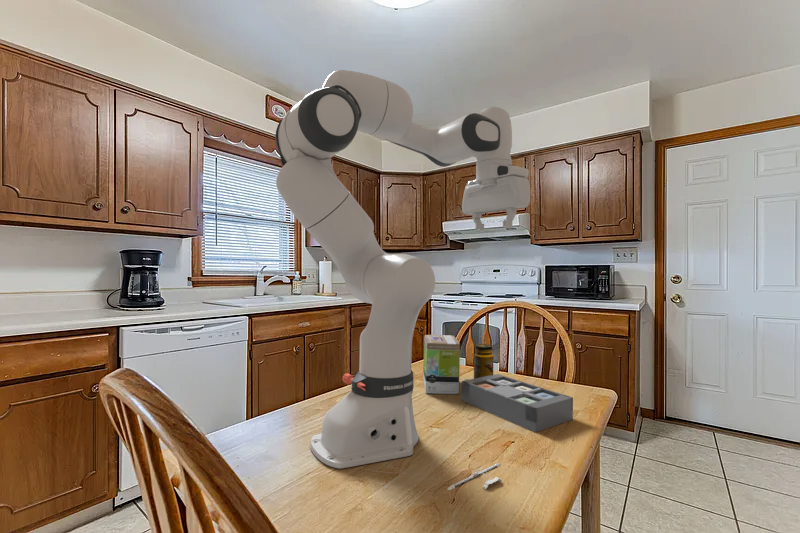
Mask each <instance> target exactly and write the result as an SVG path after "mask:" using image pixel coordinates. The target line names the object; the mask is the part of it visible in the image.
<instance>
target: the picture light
mask: <svg viewBox="0 0 800 533" xmlns="http://www.w3.org/2000/svg"><path fill="white" fill-rule="evenodd" d="M500 466H501V463H497V462H496V463H495V464H494V465H491V466H490V467H487V468H485V469H484V468H482V467H481V468H478V469H476V470H475V471H474V472H473V473H472V475H470V476H468V477H466V478H464V479H462V480H460V481H458V482H457V483H454V484H451V485H450V486H449V487H448V488H447V489H446V490H447V491H451V490H455V489H456V488H457V487H460V486H462V485H464V484H465V483H467V482H469V481H471V480H474V479H476V478H478V477H480V476H484V478H485V482H484V484H483V486H482V488H483V490H485V491H487V488H488V487H489V485H492V484H493V483H496V482H499V483H502V479H501V478H499V477H497V476H495V477H494V478H493V479H492V478H491V479H490V475H489V473H488V472H489V471H491V470H493V469H496V468H499V467H500ZM486 474H487V477H488V480H487V477H486Z"/></svg>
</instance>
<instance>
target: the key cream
mask: <svg viewBox="0 0 800 533" xmlns="http://www.w3.org/2000/svg"><path fill="white" fill-rule="evenodd" d="M515 388H516V389H519V390H522V391H528V390H532V389H530V388H527V387H524V386H519V387H515ZM531 394H534V392H532V393H531ZM519 397H522V398H523V397H525V398H527V397H530V396H527V395H520V396H519Z"/></svg>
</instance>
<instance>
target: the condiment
mask: <svg viewBox="0 0 800 533" xmlns="http://www.w3.org/2000/svg"><path fill="white" fill-rule="evenodd" d="M474 348H475V349H474V351H475V352H474V354H473V379H475V378H480V377H485V376H490V375H494V354H493V346H492V345H491V344H487V343H478V344H475V347H474ZM465 380H470V378H466V379H465V378H464V380H463V381H465Z"/></svg>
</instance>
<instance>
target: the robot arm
mask: <svg viewBox="0 0 800 533" xmlns="http://www.w3.org/2000/svg"><path fill="white" fill-rule="evenodd" d="M413 116H414V105H413V102H412V99H411V96H410V94H409V92H408V91H407V90H406V89H405V88H403V87H402V86H400V85H398V84H397V83H394V82H392V81H390V80H386V79H383V78H381V77H378V76H375V75H373V74H368V73H363V72H360V71H353V70H346V69H338V70H334V71H333V72H332V73H330V74H329V75H328V76H327V78H326V79H325V80H324V83H323V85H322V88H319V89H318V88H317V89H315V90H313V91H311V92H310V93H308V94H306V95H305V96H304V97H303V98H302V99H301V100H300V101H299V102H297V103H296V104H294V105H292V106H291V108H289V110H288V111H287V112H286V113H285V115H284V116H283V118H282V119H281V120H280V122H278V124H277V128H276V130H275V134H274V135H275V138H274V140H275V145H276V149H277V151H278V154H279V158H280V161H281V165H282V167H281V168H280V170H279V172H278V174H277V177H276V180H275V185H276V189H277V190H278V192H279V194H280V195H281V197H282V199H283V201H284V202H285V204H286V205H287V207H288V208H289V210H290V211H291V213H292V214H293V215H294V217H295V218H296V220H298V221H299V223H300V224H301V225H302V226H303V228H304V229H305V230H306V232H308V233H309V234H310V236H311V237H312V238H313V239H314V240H315V242H317V244H319V245H320V247H321V248H322V249H323V250H324V251H325V253H326V254H327V255H328V256H329V257H330V258H331V261H333V263H334V265H335V266H336V268H337V270H338V272H339V273H340V274H341V276H342V279H343V280H344V283H345V284H344V285H345V287H346V289H347V291H348V292H349V293H350V294H351V295H352V296H353V297H354V298H356V299H357V300H359V301H361V302H363V303H366V304H371V310H370V313H369V318H368V322H367V323H366V326H365V328H364V329H363V330H362V331H361V333H360V336H359V367H358V368H359V370H357V372H356V375H355V376H354V375H352V374H350V373H348V372H347V373H344V374H343V376H342V379H341V380H342V381H343V383H345V384H346V385H349V386H350V385H351V387H350V388H351V390H350V391H349V392H348V393H346V394H345V396H343V397H342V398H341V399H340V400H339V401H337V403H336V404H334V405H333V406H332V407H331V408H330V409H329V410H327V412H326V413H325V415H324V418H323V420H322V426H321V432H320V433H318V434H315V435H312V436H311V439H310V445H309V447H310V450H311V452H312V453H313V455H314V456H315V457H316V458H317V459H318V460H319V461H320V462H322V463H323V464H324V465H327V466H328V467H332V468H336V469H345V468H346V469H347V468H351V467H357V466H362V465H367V464H373V463H378V462H384V461H389V460H390V461H391V460H395V459H399V458H405V457H410V456H412V455H413V454H414V447H415V445H417V443H418V442H419V434H418V431H417V427H416V422H415V416H414V408H413V406H414V405H413V392H414V371H413V370H412V364H413V363H412V361H413V360H412V358H413V353H412V352H413V337H414V331H415V328H416V322H417V320H418V316H419V314H420V311H421V310H422V308H424V306H425V304H427V302H429V300H430V299H431V298H432V296H433V294H434V291H435V288H436V276H435V273H434V270H433V267H432V266H431V265H430V264H429V263H428V262H427V261H426V260H424V259H423V258H421V257H418V256H415V255H411V254H408V253H395V254H394V253H390V254H389V253H387V252H386V251H385V250H383V248H382V247H381V246H380V244H379V242H378V240H377V237H376V235H375V232H374V231H375V224H374V222H373V220H372V218H371V217H370V216H369V215H368V213H366V211H365V209H363V207H362V206H361V204H359V202H358V201H357V200H356V199H355V197H354V196H353V194H352V193H351V192H350V190H348V189H347V187H346V186H345V185H344V184H343V183H342V181H341V180H340V179H338V176H337V174H336V172H335V170H334V167H333V164H332V158H333V157H334V156H335V155H338V153H340V151H343V150H344V149H346V148H347V147H348V146H349V145H350V144H351V143H352V142H353V140H354V138H355V137H356V135H357V132H359V133H363V134H367V135H370V136H374V137H378V138H382V139H384V140H386V141H387V142H390V143H392V144H394V145H396V146H398V147H402V148H405V149H407V150H410V151H413V152H416V153H418V154H420V155H422V156H424V157H426V158H427V159H429V160H430V161H431V162H432V163H433V164H435V165H436V166H439V167H442V168H446V167H450V166H452V165H455V164H456V163H458V162H460V161H465V160H467V159H469V158H476V163H475V169H476V170H475V179H474V180H473V179H472V180H469V181H468V182H467V183H466V185H465V187H464V191H463V196H462V203H461V205H462V206H461V212H462V213H463V215H467V216H472V217H471V218H472V220H473V222H474V224H475V231H477V232H481V231H485V223H482V216H483V215H482V214H489V213H495V212H496V213H497V212H503V211H505V213H506V218H505V220H502V228H504V229H512V228H513V221H514V219H515V217H516V215H517V210H518V209H523V208H528V206H529V205H530V203H531V185H530V181H529V179H528V178H529V176H530V175H529V174H530V171H529V169H528V168H525V167H521V166H516V165H513V164H512V163H513V160H512V157H511V149H512V146H513V128H512V121H511V117H510V114H509V112H508V110H506V109H504V108H501V107H497V106H492V107H491V106H490V107H486V108H483V109H482V110H481V111H479V112H477V113H476V112H475V113H469V114H466V115H464V116H461V117H459V118H457V119H455V120H453V121H451V122H449V123H447V124H445V125H442V126H439V127H436V128H427V127H426V126H422V125H420V124H418V123H416V122H414V121H413Z"/></svg>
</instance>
